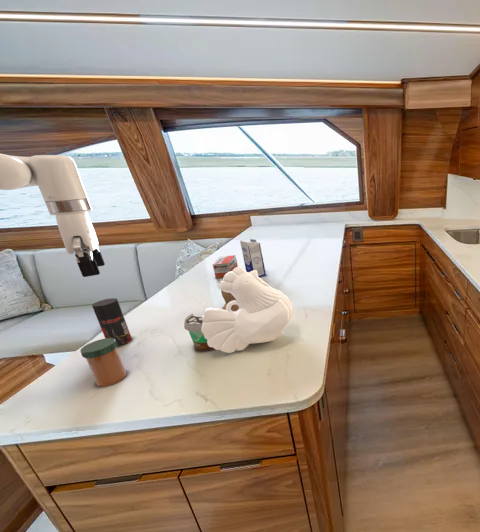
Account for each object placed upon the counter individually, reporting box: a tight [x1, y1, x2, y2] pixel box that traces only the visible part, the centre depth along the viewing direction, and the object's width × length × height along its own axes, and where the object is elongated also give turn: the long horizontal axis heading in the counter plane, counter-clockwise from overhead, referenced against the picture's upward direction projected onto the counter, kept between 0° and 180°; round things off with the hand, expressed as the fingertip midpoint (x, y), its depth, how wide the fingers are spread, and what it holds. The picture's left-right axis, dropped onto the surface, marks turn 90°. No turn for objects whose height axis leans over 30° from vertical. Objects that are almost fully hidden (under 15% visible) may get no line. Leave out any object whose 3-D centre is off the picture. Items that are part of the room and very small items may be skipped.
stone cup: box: [220, 278, 239, 311], centre depth 117 cm, size 15×12×15 cm
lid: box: [80, 337, 118, 359], centre depth 79 cm, size 7×7×2 cm
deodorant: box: [91, 297, 133, 348], centre depth 97 cm, size 6×6×15 cm
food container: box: [183, 313, 215, 352], centre depth 94 cm, size 12×6×10 cm, turn 73°
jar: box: [85, 347, 127, 388], centre depth 80 cm, size 6×6×10 cm
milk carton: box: [239, 238, 267, 278], centre depth 154 cm, size 7×7×20 cm
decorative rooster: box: [201, 266, 294, 354], centre depth 95 cm, size 25×16×25 cm
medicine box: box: [211, 254, 239, 279], centre depth 162 cm, size 15×8×8 cm, turn 16°
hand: (94, 270), depth 81 cm, fingers open, 9 cm apart
